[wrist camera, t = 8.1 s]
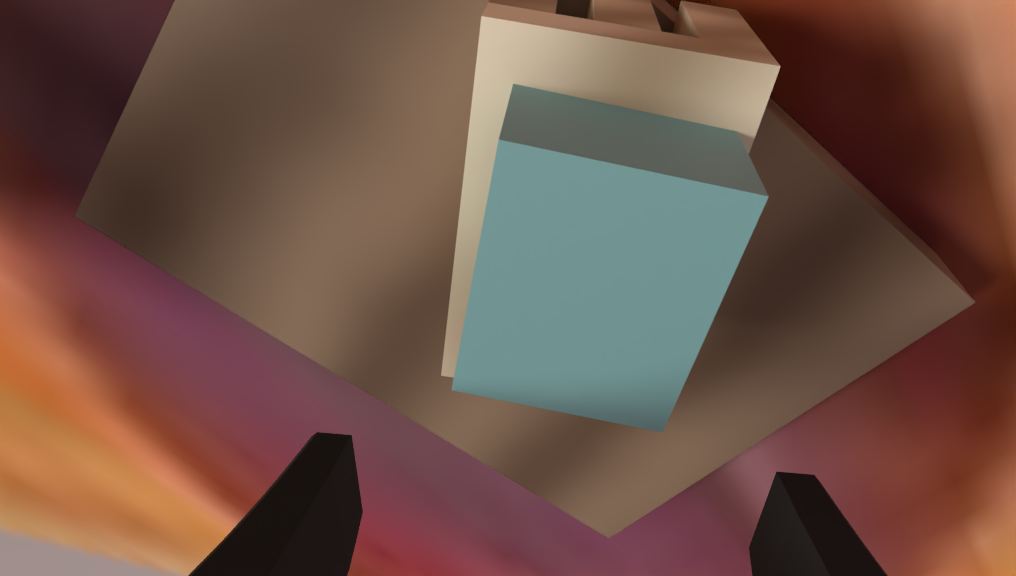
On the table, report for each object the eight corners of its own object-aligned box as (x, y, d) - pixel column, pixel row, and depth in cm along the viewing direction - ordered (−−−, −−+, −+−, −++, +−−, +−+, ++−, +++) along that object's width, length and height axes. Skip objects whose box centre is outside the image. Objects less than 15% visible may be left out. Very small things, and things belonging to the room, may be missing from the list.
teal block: (737, 131, 12) (768, 196, 10) (651, 347, 15) (662, 432, 13) (513, 83, 12) (498, 139, 10) (469, 309, 15) (451, 390, 13)
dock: (936, 252, 20) (975, 302, 18) (606, 483, 27) (608, 538, 25) (355, -290, 14) (317, -308, 12) (122, 177, 21) (73, 216, 19)
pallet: (736, 9, 15) (780, 66, 11) (643, 309, 19) (655, 410, 16) (503, -30, 15) (481, 15, 11) (465, 279, 19) (441, 375, 16)
